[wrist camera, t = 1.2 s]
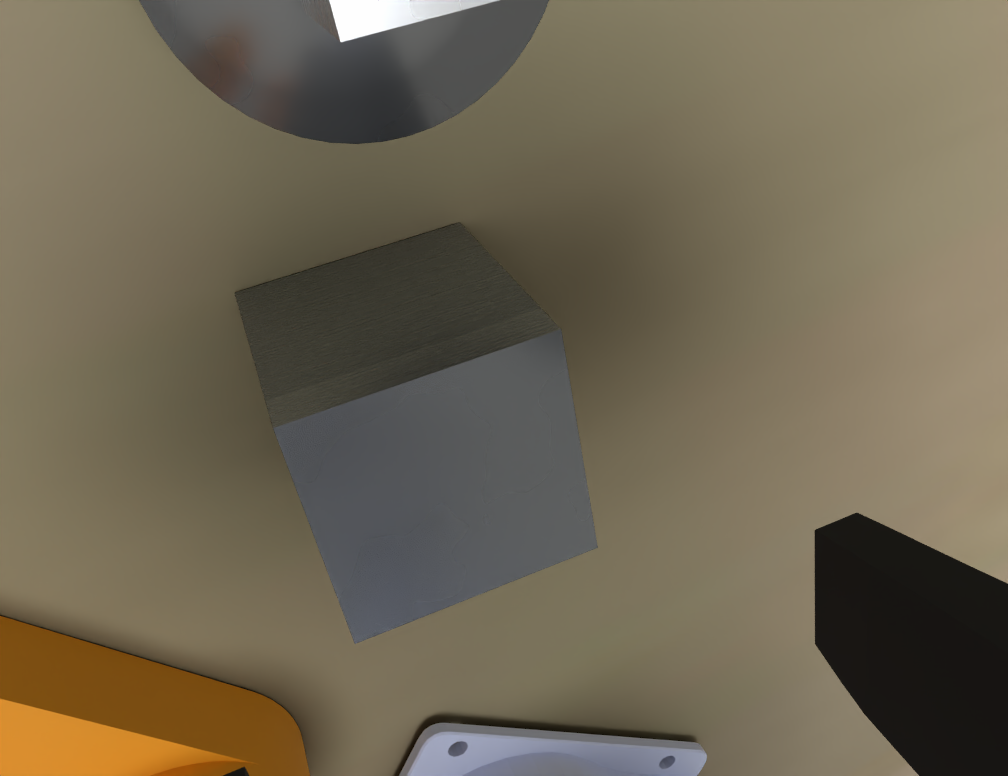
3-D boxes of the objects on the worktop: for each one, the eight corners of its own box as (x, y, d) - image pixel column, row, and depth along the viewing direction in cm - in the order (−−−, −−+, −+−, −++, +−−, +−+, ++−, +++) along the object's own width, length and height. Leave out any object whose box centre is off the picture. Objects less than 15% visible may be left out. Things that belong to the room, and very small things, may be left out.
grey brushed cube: (500, 409, 21) (597, 547, 17) (304, 479, 20) (355, 644, 16) (459, 222, 18) (561, 329, 14) (234, 292, 17) (273, 428, 13)
